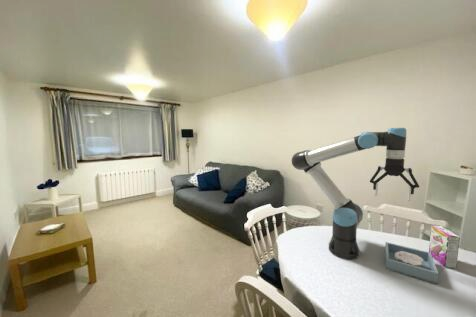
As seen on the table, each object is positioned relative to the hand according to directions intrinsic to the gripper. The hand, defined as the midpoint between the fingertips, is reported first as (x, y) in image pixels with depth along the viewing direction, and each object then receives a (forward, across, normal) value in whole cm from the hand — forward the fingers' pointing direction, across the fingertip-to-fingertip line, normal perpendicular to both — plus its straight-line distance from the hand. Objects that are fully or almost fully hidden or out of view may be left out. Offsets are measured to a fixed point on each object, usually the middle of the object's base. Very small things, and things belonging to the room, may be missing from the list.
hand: (391, 197), depth 104 cm
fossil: (+31, +8, -7) cm, 33 cm away
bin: (+31, +8, -7) cm, 33 cm away
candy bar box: (+31, +22, +6) cm, 39 cm away
